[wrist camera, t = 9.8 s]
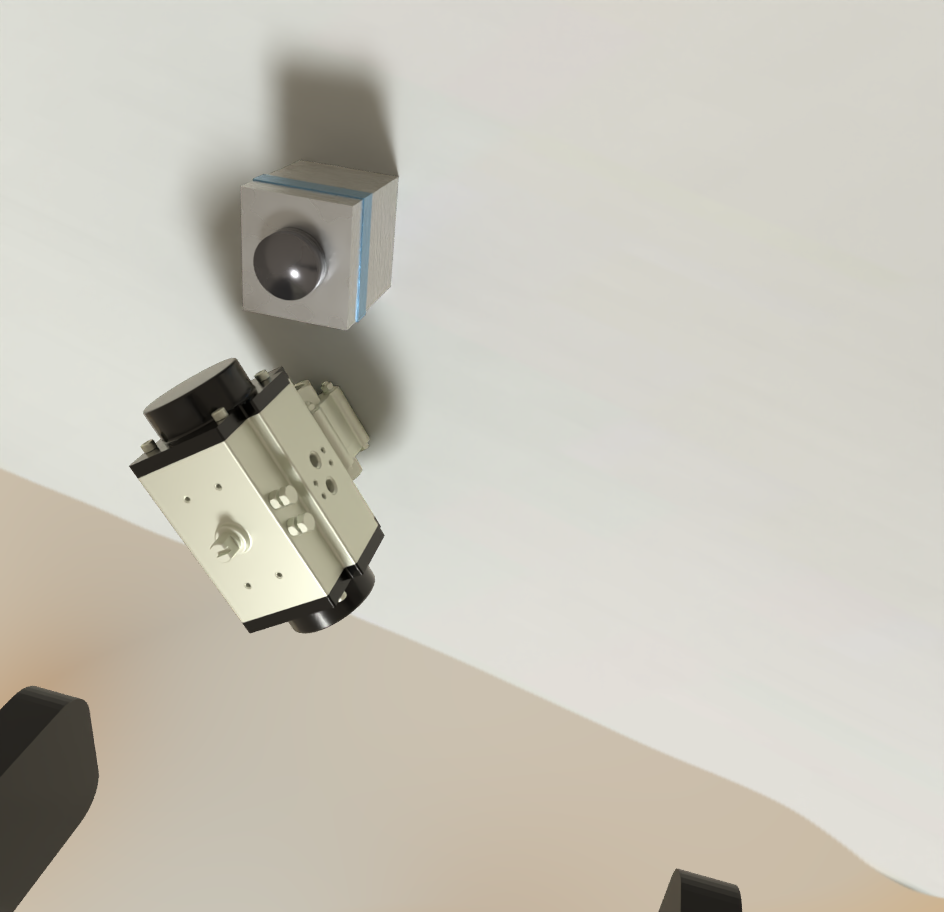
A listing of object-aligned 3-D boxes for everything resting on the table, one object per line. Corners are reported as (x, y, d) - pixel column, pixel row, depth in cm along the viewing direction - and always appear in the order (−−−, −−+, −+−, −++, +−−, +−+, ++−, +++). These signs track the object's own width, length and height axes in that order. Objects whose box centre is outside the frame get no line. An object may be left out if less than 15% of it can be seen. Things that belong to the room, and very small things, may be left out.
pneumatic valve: (350, 524, 46) (255, 676, 36) (232, 339, 42) (88, 449, 32) (435, 494, 44) (360, 646, 34) (320, 295, 40) (196, 399, 30)
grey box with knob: (399, 175, 37) (344, 211, 31) (391, 287, 39) (339, 340, 33) (300, 158, 37) (227, 190, 31) (298, 269, 40) (230, 319, 34)
